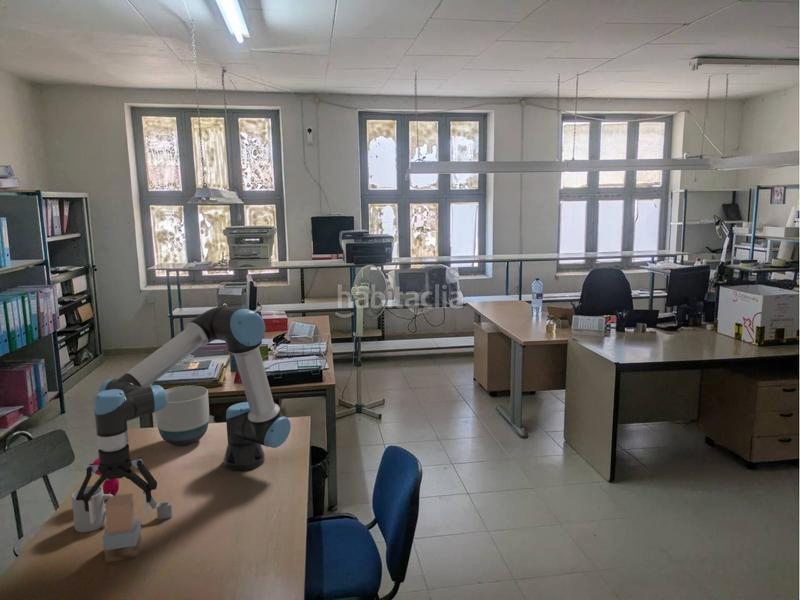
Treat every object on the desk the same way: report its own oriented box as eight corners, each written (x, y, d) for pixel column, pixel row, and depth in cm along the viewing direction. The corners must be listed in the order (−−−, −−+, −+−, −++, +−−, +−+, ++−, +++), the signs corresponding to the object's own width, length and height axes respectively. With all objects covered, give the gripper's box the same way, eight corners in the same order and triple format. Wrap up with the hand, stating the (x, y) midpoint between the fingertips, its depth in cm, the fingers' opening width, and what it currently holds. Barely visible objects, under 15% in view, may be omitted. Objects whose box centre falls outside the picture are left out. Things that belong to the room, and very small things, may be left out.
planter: (151, 442, 228) (147, 393, 224) (198, 428, 241) (195, 382, 238) (169, 458, 213) (165, 406, 209) (219, 443, 227) (216, 394, 223)
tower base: (141, 541, 160) (140, 528, 160) (137, 557, 153) (136, 544, 152) (111, 546, 158) (110, 533, 157) (105, 563, 151) (104, 550, 150)
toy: (111, 505, 179) (107, 462, 177) (89, 502, 181) (85, 460, 178) (129, 492, 188) (125, 451, 185) (108, 489, 189) (104, 449, 187)
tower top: (141, 529, 159) (140, 517, 159) (135, 545, 152) (134, 532, 151) (111, 533, 157) (109, 521, 157) (104, 550, 150) (102, 537, 149)
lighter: (172, 514, 174) (170, 491, 173) (171, 517, 172) (169, 494, 171) (148, 518, 172) (146, 494, 171) (147, 521, 170) (145, 497, 169)
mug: (70, 534, 163) (67, 501, 161) (79, 519, 171) (76, 486, 170) (114, 529, 166) (111, 495, 164) (121, 514, 174) (118, 482, 172)
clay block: (134, 518, 158) (132, 493, 157) (131, 530, 152) (129, 503, 151) (111, 522, 156) (109, 496, 155) (107, 534, 150) (105, 507, 149)
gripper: (163, 435, 157) (169, 502, 161) (65, 446, 150) (73, 517, 153) (161, 445, 150) (166, 516, 154) (58, 458, 143) (66, 531, 146)
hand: (120, 516), depth 154 cm, fingers open, 13 cm apart
